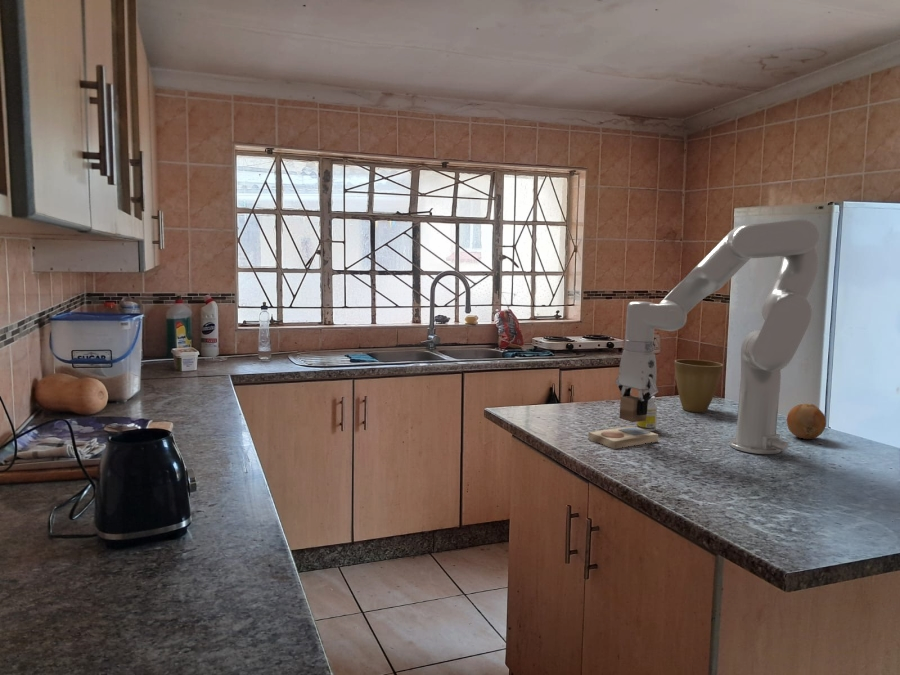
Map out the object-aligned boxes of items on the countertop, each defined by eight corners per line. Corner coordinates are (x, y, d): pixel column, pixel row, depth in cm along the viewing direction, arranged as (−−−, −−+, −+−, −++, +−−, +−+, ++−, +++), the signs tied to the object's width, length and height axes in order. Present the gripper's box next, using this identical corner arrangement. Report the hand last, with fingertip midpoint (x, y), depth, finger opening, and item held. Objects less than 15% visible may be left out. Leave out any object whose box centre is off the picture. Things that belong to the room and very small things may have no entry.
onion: (814, 434, 193) (817, 400, 192) (830, 444, 183) (834, 408, 182) (779, 433, 194) (782, 399, 192) (793, 442, 184) (797, 406, 183)
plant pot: (711, 417, 211) (715, 367, 209) (665, 410, 220) (668, 362, 218) (724, 409, 222) (728, 362, 220) (680, 402, 231) (683, 357, 229)
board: (657, 441, 182) (658, 433, 181) (614, 448, 174) (614, 440, 174) (631, 432, 190) (631, 425, 190) (588, 439, 182) (588, 431, 182)
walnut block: (632, 422, 180) (633, 400, 179) (619, 418, 184) (620, 396, 184) (646, 420, 182) (647, 399, 182) (632, 416, 187) (634, 395, 186)
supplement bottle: (641, 425, 198) (643, 393, 197) (658, 429, 195) (660, 396, 194) (633, 429, 194) (635, 396, 193) (651, 432, 191) (653, 399, 190)
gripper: (673, 350, 175) (667, 418, 178) (626, 342, 190) (621, 404, 192) (652, 352, 172) (647, 421, 174) (606, 343, 186) (602, 406, 189)
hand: (634, 411), depth 183 cm, fingers closed on walnut block, 5 cm apart
